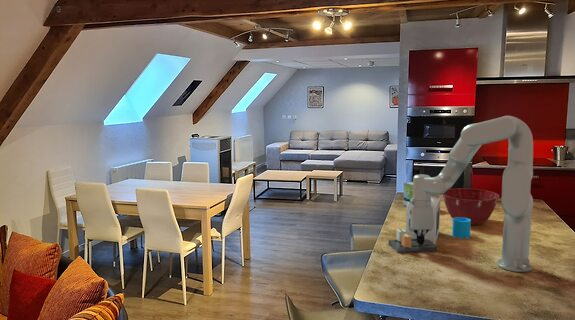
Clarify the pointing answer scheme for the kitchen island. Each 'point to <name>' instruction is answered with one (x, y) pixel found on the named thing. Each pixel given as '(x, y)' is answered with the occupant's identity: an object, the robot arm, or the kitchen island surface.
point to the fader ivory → (399, 234)
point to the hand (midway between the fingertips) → (420, 243)
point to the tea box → (408, 192)
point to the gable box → (436, 211)
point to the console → (413, 246)
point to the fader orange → (406, 240)
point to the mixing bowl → (470, 204)
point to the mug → (461, 227)
